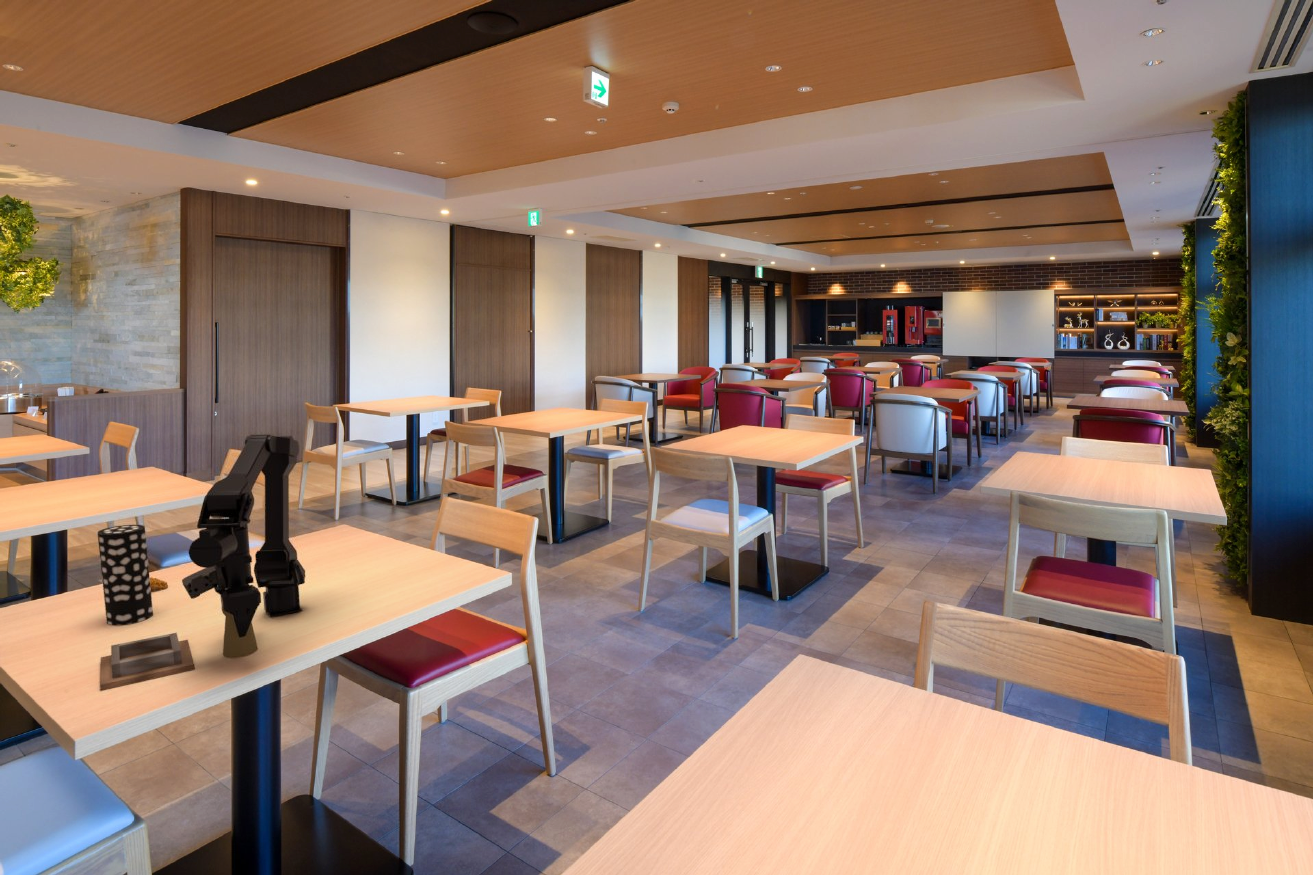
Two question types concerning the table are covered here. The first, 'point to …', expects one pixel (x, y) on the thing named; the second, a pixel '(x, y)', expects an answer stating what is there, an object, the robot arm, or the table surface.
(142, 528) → the white-spotted black cylinder
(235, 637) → the cork
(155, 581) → the ornament
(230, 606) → the robot arm
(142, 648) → the shaker holder
